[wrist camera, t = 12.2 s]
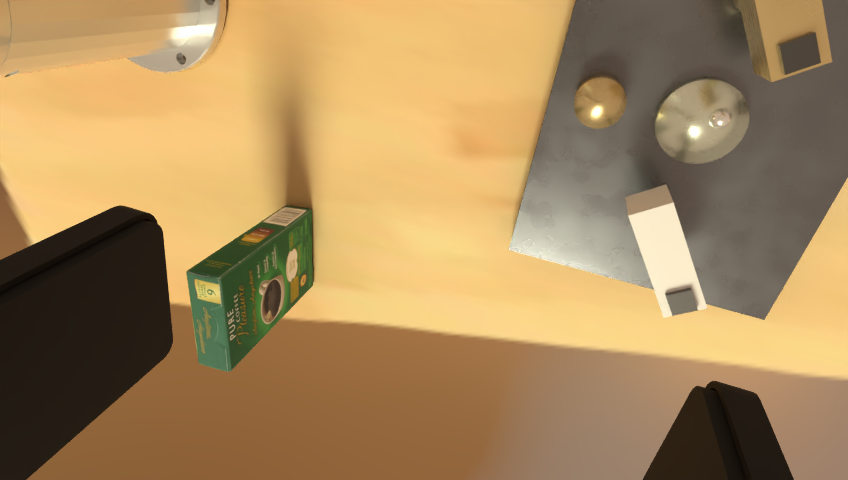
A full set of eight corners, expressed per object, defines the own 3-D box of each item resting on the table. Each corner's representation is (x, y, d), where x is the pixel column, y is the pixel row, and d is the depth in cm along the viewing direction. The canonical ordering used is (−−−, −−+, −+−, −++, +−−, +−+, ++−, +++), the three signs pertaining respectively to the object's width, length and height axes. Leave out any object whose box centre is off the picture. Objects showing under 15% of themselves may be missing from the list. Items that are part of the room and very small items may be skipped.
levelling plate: (512, 238, 40) (505, 259, 37) (611, -132, 29) (614, -146, 26) (756, 304, 37) (771, 333, 34) (974, -82, 26) (1027, -92, 23)
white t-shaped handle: (622, 182, 34) (628, 217, 29) (661, 170, 33) (674, 204, 28) (653, 272, 36) (664, 320, 31) (690, 263, 35) (708, 311, 30)
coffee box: (283, 199, 45) (180, 270, 34) (313, 205, 44) (219, 280, 33) (287, 278, 49) (195, 367, 37) (315, 285, 48) (230, 377, 37)
